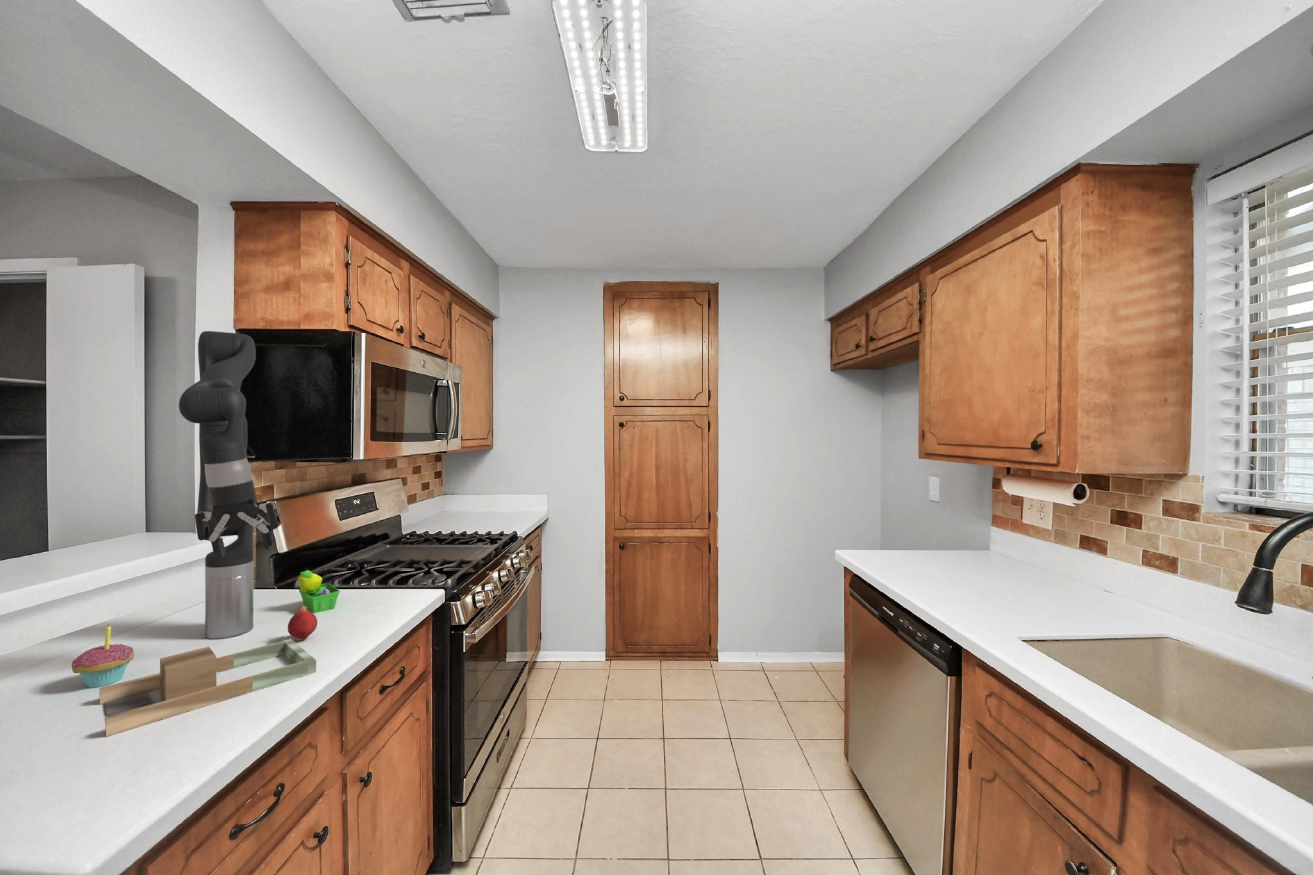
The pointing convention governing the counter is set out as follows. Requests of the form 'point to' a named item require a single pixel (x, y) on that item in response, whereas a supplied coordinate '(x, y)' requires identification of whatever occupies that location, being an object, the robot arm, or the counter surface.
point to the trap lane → (135, 709)
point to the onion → (302, 624)
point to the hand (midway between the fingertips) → (245, 551)
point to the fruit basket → (316, 592)
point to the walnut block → (187, 673)
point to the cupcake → (103, 663)
